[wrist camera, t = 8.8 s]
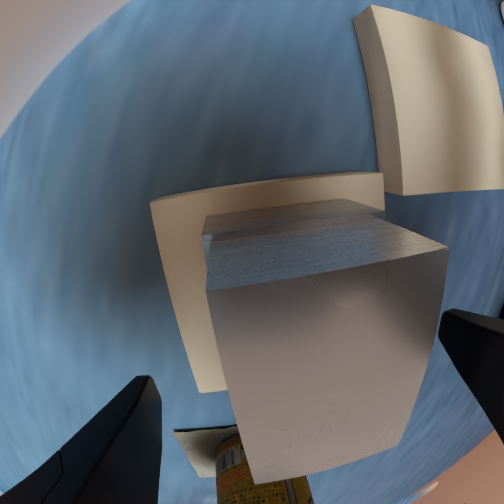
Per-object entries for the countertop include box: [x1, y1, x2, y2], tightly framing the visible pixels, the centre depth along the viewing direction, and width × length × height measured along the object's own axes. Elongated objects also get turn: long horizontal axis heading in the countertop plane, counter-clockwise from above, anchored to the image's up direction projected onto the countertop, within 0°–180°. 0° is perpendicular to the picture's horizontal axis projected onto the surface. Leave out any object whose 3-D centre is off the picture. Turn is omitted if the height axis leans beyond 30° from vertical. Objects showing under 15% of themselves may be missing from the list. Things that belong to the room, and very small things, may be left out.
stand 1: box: [150, 171, 385, 393], centre depth 12 cm, size 9×9×2 cm
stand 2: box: [353, 4, 504, 196], centre depth 11 cm, size 9×9×2 cm
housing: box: [201, 198, 449, 484], centre depth 9 cm, size 5×7×6 cm
